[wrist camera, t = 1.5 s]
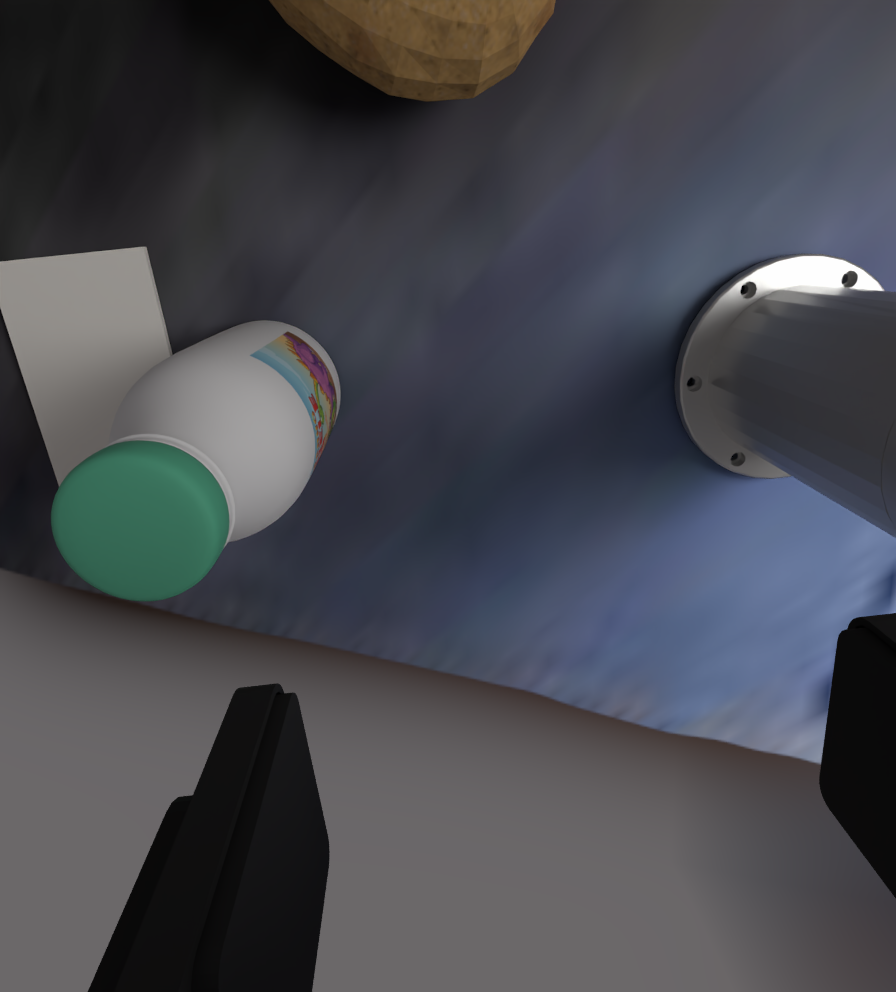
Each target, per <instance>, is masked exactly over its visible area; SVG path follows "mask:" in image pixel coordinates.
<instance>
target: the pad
mask: <svg viewBox="0 0 896 992" xmlns="http://www.w3.org/2000/svg"><path fill="white" fill-rule="evenodd" d="M0 309H1V312H2V315H3V318H4V321H5V324H6V327H7V330H8V333H9V336H10V339H11V342H12V345H13V348H14V351H15V354H16V357H17V360H18V363H19V366H20V369H21V372H22V375H23V378H24V381H25V385H26V388H27V391H28V394H29V397H30V400H31V403H32V406H33V409H34V412H35V415H36V418H37V421H38V424H39V427H40V430H41V433H42V436H43V439H44V442H45V445H46V448H47V451H48V454H49V457H50V460H51V463H52V467H53V470H54V473H55V476H56V479H57V482H58V485H59V487H60V485H61V483H62V482H63V480H64V478H65V477H66V476H67V475H68V473H69V472H70V471H71V470H73V469H74V468H75V467H76V466H77V465H78V464H80V463H81V462H82V461H84V460H85V459H86V458H87V457H89V456H91V455H92V454H94V453H96V452H98V451H100V450H101V449H102V448H104V447H105V446H106V445H108V444H109V438H110V432H111V428H112V424H113V421H114V418H115V415H116V412H117V410H118V408H119V406H120V404H121V403H122V401H123V399H124V398H125V396H126V394H127V393H128V391H129V390H130V389H131V388H132V386H133V385H134V384H135V383H136V382H137V381H138V380H139V379H140V378H141V377H142V376H143V375H144V374H145V373H146V372H148V371H149V370H150V369H151V368H153V367H154V366H156V365H157V364H159V363H160V362H162V361H164V360H165V359H167V358H169V357H170V356H172V355H173V354H172V350H171V346H170V342H169V338H168V334H167V330H166V325H165V321H164V317H163V313H162V309H161V305H160V301H159V297H158V293H157V289H156V285H155V281H154V276H153V272H152V268H151V264H150V260H149V256H148V252H147V248H146V247H137V248H127V249H117V250H108V251H98V252H88V253H79V254H69V255H60V256H50V257H40V258H31V259H21V260H12V261H2V262H0Z"/></svg>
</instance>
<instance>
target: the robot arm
mask: <svg viewBox="0 0 896 992" xmlns="http://www.w3.org/2000/svg"><path fill="white" fill-rule="evenodd" d="M842 277H843V280H842ZM743 285H744V287H745V289H744V292H743V293H741V292H740V290H741V287H742V286H743ZM690 378H692V382H691V384H689V385H687V382H688V380H689V379H690ZM674 389H675V397H676V405H677V410H678V413H679V416H680V419H681V421H682V424H683V427H684V428H685V430H686V432H687V433H688V435H689V437H690V438H691V440H692V442H693V443H694V444H695V445H696V446H697V447H698V448H699V449H700V450H701V451H702V452H703V453H704V454H705V455H706V456H708V457H709V458H711V459H712V460H713V461H715V462H716V463H717V464H719V465H721V466H722V467H724V468H726V469H728V470H730V471H732V472H734V473H738V474H741V475H745V476H749V477H753V478H767V479H774V478H783V477H794V478H796V479H798V480H799V481H801V482H803V483H804V484H806V485H808V486H809V487H811V488H813V489H814V490H816V491H818V492H819V493H821V494H823V495H824V496H826V497H828V498H829V499H831V500H833V501H834V502H836V503H838V504H840V505H841V506H843V507H845V508H846V509H848V510H850V511H851V512H853V513H855V514H856V515H858V516H860V517H861V518H863V519H865V520H866V521H868V522H870V523H871V524H873V525H875V526H876V527H878V528H880V529H881V530H883V531H885V532H887V533H888V534H890V535H892V536H893V537H895V538H896V292H889V291H885V290H884V288H883V287H882V286H881V284H880V283H879V282H878V280H877V279H875V278H874V277H873V276H872V275H870V274H869V273H868V272H867V271H866V270H864V269H863V268H862V267H860V266H858V265H856V264H854V263H851V262H849V261H847V260H845V259H843V258H838V257H833V256H829V255H824V254H795V255H785V256H780V257H776V258H773V259H770V260H767V261H763V262H760V263H758V264H756V265H754V266H752V267H750V268H748V269H747V270H745V271H743V272H741V273H739V274H738V275H736V276H735V277H734V278H732V279H731V280H730V281H728V282H727V283H726V284H724V285H723V286H722V287H721V288H719V290H718V291H717V292H716V293H715V294H714V295H713V296H712V297H711V298H710V299H709V300H708V301H707V302H706V303H705V304H704V306H703V307H702V309H701V310H700V312H699V313H698V315H697V316H696V318H695V319H694V321H693V322H692V324H691V325H690V327H689V330H688V332H687V334H686V336H685V338H684V341H683V343H682V345H681V349H680V353H679V357H678V360H677V364H676V372H675V386H674ZM734 453H735V454H734ZM733 454H734V457H733V458H731V457H732V455H733ZM819 781H820V782H819V784H820V789H821V793H822V796H823V798H824V801H825V803H826V805H827V806H828V808H829V809H830V811H831V812H832V813H833V815H834V816H835V817H836V819H837V820H838V821H839V823H840V824H841V826H842V827H843V828H844V830H845V831H846V832H847V833H848V835H849V836H850V838H851V839H852V840H853V842H854V843H855V844H856V845H857V847H858V848H859V849H860V851H861V852H862V854H863V855H864V856H865V858H866V859H867V860H868V862H869V863H870V864H871V866H872V867H873V868H874V870H875V871H876V873H877V874H878V875H879V876H880V878H881V879H882V880H883V882H884V883H885V885H886V886H887V887H888V889H889V890H890V891H891V893H892V894H893V895H894V897H895V898H896V613H893V614H884V615H875V616H867V617H858V618H855V619H853V620H852V621H851V622H850V624H849V626H848V629H847V630H843V631H842V632H841V633H840V634H839V637H838V641H837V648H836V656H835V664H834V671H833V679H832V686H831V694H830V701H829V709H828V717H827V724H826V732H825V739H824V747H823V754H822V762H821V770H820V779H819ZM328 868H329V840H328V834H327V829H326V825H325V820H324V816H323V811H322V807H321V802H320V797H319V793H318V788H317V784H316V779H315V775H314V770H313V765H312V761H311V756H310V752H309V747H308V743H307V738H306V733H305V729H304V724H303V720H302V715H301V710H300V706H299V702H298V698H297V695H296V694H295V693H285V694H284V691H283V689H282V687H281V685H280V684H269V685H260V686H251V687H243V688H238V689H237V690H236V691H235V693H234V695H233V697H232V699H231V702H230V704H229V707H228V709H227V712H226V714H225V717H224V719H223V722H222V725H221V727H220V730H219V732H218V734H217V737H216V739H215V742H214V744H213V747H212V749H211V752H210V754H209V757H208V759H207V762H206V764H205V767H204V769H203V772H202V774H201V777H200V779H199V782H198V784H197V787H196V789H195V792H194V794H193V795H192V796H183V797H178V798H177V799H176V800H174V801H173V802H172V803H171V805H170V807H169V809H168V810H167V812H166V814H165V817H164V819H163V821H162V823H161V825H160V828H159V830H158V832H157V834H156V837H155V839H154V841H153V844H152V846H151V848H150V851H149V853H148V855H147V857H146V860H145V862H144V864H143V867H142V869H141V871H140V873H139V876H138V878H137V880H136V883H135V885H134V887H133V890H132V892H131V894H130V897H129V899H128V901H127V904H126V905H125V908H124V910H123V912H122V915H121V917H120V919H119V921H118V924H117V926H116V929H115V931H114V933H113V935H112V937H111V940H110V942H109V945H108V947H107V949H106V951H105V954H104V956H103V958H102V961H101V963H100V965H99V967H98V970H97V972H96V974H95V977H94V979H93V981H92V983H91V986H90V988H89V990H88V992H312V987H313V979H314V972H315V965H316V958H317V950H318V942H319V934H320V928H321V921H322V913H323V906H324V898H325V890H326V882H327V876H328Z"/></svg>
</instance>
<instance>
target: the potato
mask: <svg viewBox="0 0 896 992" xmlns="http://www.w3.org/2000/svg"><path fill="white" fill-rule="evenodd" d="M269 1H270V2H271V4H272V5H273V6H274V7H275V9H276V10H277V11H278V12H279V14H280V15H281V16H282V18H283V19H284V20H285V21H286V23H287V24H288V25H289V26H291V27H292V28H293V29H294V30H295V31H297V32H298V33H299V34H300V35H301V36H303V37H304V38H305V39H306V40H307V41H309V42H310V43H311V44H312V45H313V46H315V47H316V48H317V49H318V50H319V51H321V52H322V53H323V54H325V55H326V56H328V57H329V58H331V59H332V60H334V61H335V62H337V63H338V64H339V65H341V66H342V67H344V68H345V69H347V70H348V71H350V72H351V73H353V74H354V75H356V76H357V77H359V78H361V79H362V80H364V81H366V82H368V83H369V84H371V85H373V86H374V87H376V88H378V89H379V90H381V91H383V92H385V93H386V94H388V95H392V96H398V97H403V98H409V99H415V100H420V101H426V102H428V101H441V100H454V99H466V98H474V97H475V96H477V95H479V94H480V93H482V92H483V91H485V90H486V89H488V88H490V87H491V86H493V85H494V84H496V83H498V82H499V81H501V80H502V79H504V78H505V77H507V76H509V75H510V74H512V73H513V72H514V71H515V69H516V68H517V66H518V64H519V63H520V61H521V60H522V58H523V57H524V55H525V53H526V52H527V50H528V49H529V47H530V45H531V44H532V42H533V41H534V39H535V38H536V36H537V35H538V33H539V32H540V30H541V29H542V28H543V26H544V25H545V24H546V22H547V21H548V19H549V18H550V17H551V15H552V14H553V11H554V5H555V0H269Z"/></svg>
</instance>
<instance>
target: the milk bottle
mask: <svg viewBox="0 0 896 992" xmlns="http://www.w3.org/2000/svg"><path fill="white" fill-rule="evenodd" d="M340 399H341V391H340V383H339V378H338V374H337V371H336V369H335V366H334V364H333V362H332V360H331V359H330V357H329V355H328V354H327V352H326V351H325V350H324V349H323V347H322V346H321V345H320V344H319V343H318V342H317V341H316V340H315V339H313V338H312V337H311V336H310V335H308V334H307V333H305V332H304V331H302V330H300V329H298V328H296V327H294V326H291V325H289V324H286V323H282V322H277V321H269V320H259V321H251V322H247V323H243V324H240V325H237V326H234V327H232V328H230V329H227V330H225V331H223V332H220V333H218V334H216V335H214V336H211V337H209V338H207V339H205V340H203V341H200V342H198V343H196V344H194V345H192V346H190V347H188V348H186V349H184V350H182V351H180V352H177V353H175V354H174V355H172V356H170V357H169V358H167V359H165V360H164V361H162V362H160V363H159V364H157V365H156V366H154V367H153V368H151V369H150V370H149V371H148V372H146V373H145V374H144V375H143V376H142V377H141V378H140V379H139V380H138V381H137V382H136V383H135V384H134V385H133V386H132V388H131V389H130V390H129V391H128V393H127V394H126V396H125V398H124V399H123V401H122V403H121V404H120V406H119V408H118V410H117V412H116V415H115V418H114V421H113V424H112V428H111V432H110V438H109V444H108V445H106V446H105V447H104V448H102V449H101V450H100V451H98V452H96V453H94V454H92V455H91V456H89V457H87V458H86V459H85V460H84V461H82V462H81V463H80V464H78V465H77V466H76V467H75V468H74V469H73V470H71V471H70V472H69V473H68V475H67V476H66V477H65V478H64V480H63V482H62V483H61V485H60V487H59V489H58V491H57V493H56V495H55V498H54V501H53V505H52V510H51V526H52V532H53V536H54V539H55V542H56V545H57V547H58V549H59V551H60V553H61V555H62V556H63V558H64V559H65V561H66V562H67V563H68V565H69V566H70V567H71V568H72V569H73V570H74V572H75V573H77V574H78V575H79V576H80V577H81V578H82V579H83V580H85V581H86V582H87V583H89V584H90V585H92V586H93V587H95V588H97V589H99V590H101V591H103V592H105V593H107V594H110V595H112V596H115V597H118V598H122V599H127V600H133V601H157V600H163V599H167V598H170V597H173V596H176V595H178V594H181V593H183V592H184V591H186V590H188V589H190V588H191V587H193V586H194V585H196V584H197V583H198V582H199V581H200V580H202V579H203V578H204V577H205V575H206V574H207V573H208V572H209V571H210V569H211V568H212V567H213V565H214V564H215V562H216V561H217V559H218V558H219V556H220V554H221V552H222V550H223V549H224V547H225V546H226V545H227V543H228V542H232V541H236V540H239V539H242V538H245V537H248V536H250V535H253V534H255V533H257V532H259V531H261V530H263V529H264V528H266V527H267V526H269V525H270V524H272V523H273V522H275V521H276V520H277V519H279V518H280V517H281V516H282V515H283V514H284V513H285V512H286V511H287V510H288V509H289V508H290V507H291V506H292V505H293V503H294V502H295V501H296V500H297V498H298V497H299V496H300V494H301V492H302V491H303V489H304V487H305V486H306V484H307V482H308V480H309V479H310V477H311V475H312V473H313V471H314V469H315V467H316V465H317V462H318V460H319V458H320V456H321V454H322V452H323V449H324V447H325V445H326V443H327V440H328V438H329V436H330V433H331V431H332V429H333V426H334V424H335V421H336V418H337V415H338V411H339V407H340Z"/></svg>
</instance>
